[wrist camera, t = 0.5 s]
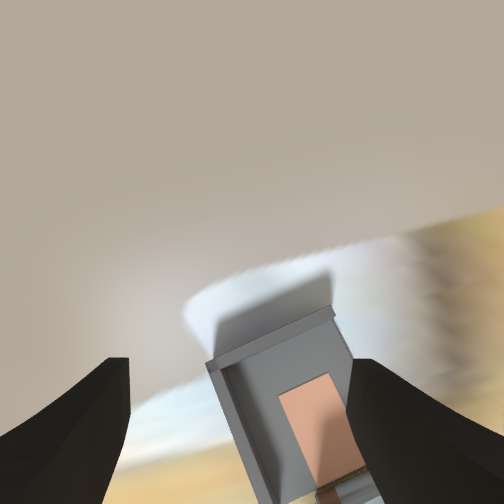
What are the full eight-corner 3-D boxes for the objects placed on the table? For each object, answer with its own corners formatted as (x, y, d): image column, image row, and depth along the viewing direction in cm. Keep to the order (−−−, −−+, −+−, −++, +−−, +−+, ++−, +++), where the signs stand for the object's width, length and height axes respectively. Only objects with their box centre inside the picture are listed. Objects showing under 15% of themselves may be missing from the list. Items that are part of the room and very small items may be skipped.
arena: (397, 449, 32) (409, 458, 29) (269, 510, 32) (267, 526, 28) (326, 310, 36) (330, 304, 33) (212, 363, 36) (204, 362, 32)
